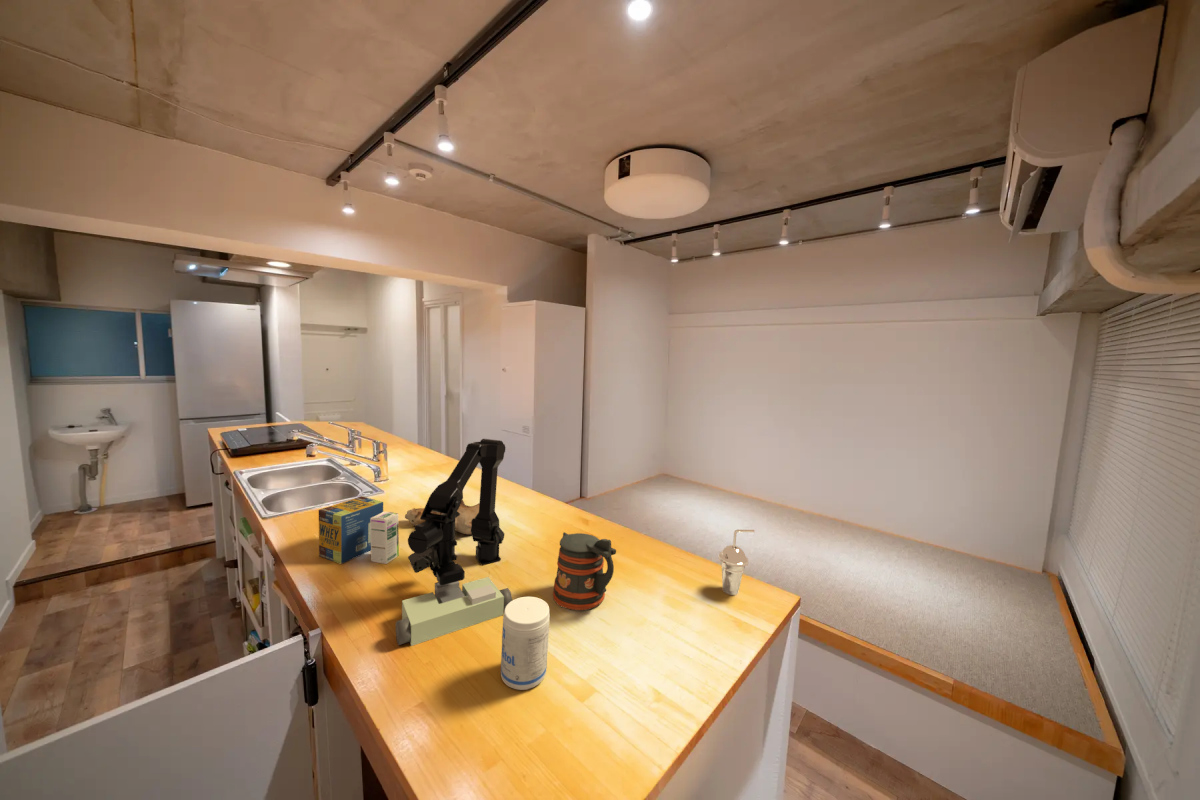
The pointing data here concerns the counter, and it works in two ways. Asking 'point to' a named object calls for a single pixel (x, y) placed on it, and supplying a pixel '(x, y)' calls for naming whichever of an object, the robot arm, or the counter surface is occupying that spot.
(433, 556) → the robot arm
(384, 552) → the syrup box
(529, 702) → the counter surface
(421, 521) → the tan knobby branched lump
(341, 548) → the protein box
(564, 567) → the beer stein
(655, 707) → the counter surface
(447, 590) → the grey stepped block
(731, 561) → the cup with straw
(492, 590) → the green roller block
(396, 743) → the counter surface
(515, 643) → the supplement tub
